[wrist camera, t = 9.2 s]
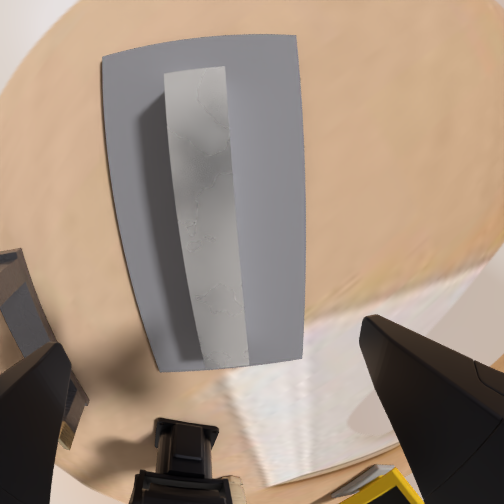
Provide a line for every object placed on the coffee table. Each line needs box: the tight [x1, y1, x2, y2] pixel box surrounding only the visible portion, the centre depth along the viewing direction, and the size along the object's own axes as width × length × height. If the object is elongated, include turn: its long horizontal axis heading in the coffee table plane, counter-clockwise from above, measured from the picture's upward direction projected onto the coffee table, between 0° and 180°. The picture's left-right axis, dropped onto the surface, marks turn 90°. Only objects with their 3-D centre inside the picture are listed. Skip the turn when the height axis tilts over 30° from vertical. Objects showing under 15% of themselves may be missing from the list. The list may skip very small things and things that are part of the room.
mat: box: [102, 34, 306, 372], centre depth 18 cm, size 24×12×1 cm, turn 4°
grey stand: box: [0, 248, 90, 450], centre depth 17 cm, size 17×5×7 cm, turn 4°
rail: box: [164, 66, 249, 369], centre depth 17 cm, size 18×3×3 cm, turn 4°
